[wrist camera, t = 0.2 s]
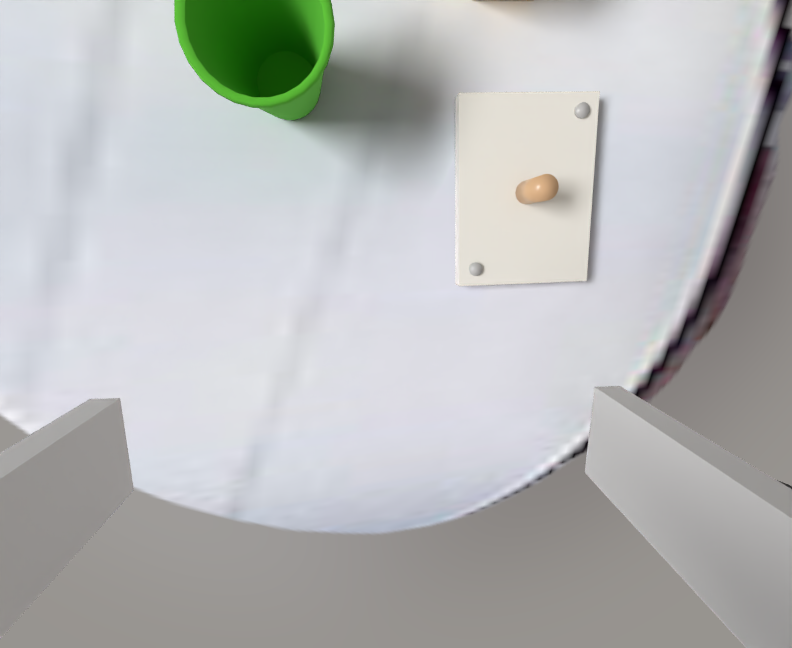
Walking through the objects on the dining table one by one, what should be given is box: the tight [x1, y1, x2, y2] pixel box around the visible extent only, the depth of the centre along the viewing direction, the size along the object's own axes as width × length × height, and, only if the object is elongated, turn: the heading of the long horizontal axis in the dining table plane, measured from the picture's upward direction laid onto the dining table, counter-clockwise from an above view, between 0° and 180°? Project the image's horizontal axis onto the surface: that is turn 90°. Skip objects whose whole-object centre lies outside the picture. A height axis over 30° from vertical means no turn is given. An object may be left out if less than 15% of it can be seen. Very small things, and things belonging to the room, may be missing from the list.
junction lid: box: [455, 91, 600, 286], centre depth 35 cm, size 16×12×6 cm
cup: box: [175, 0, 335, 120], centre depth 29 cm, size 9×9×11 cm
